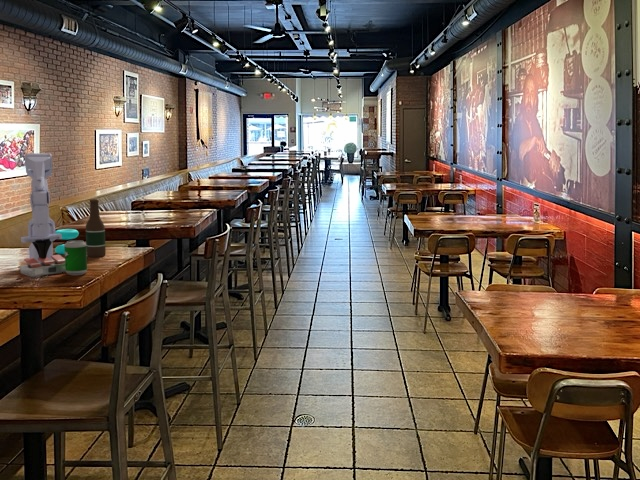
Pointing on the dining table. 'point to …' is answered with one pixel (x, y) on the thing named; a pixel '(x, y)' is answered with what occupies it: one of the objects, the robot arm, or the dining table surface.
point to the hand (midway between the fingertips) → (42, 260)
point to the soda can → (75, 257)
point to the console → (42, 269)
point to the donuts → (65, 235)
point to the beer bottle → (95, 232)
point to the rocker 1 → (32, 262)
